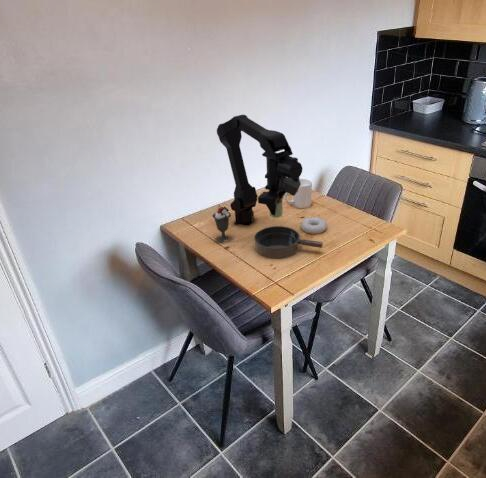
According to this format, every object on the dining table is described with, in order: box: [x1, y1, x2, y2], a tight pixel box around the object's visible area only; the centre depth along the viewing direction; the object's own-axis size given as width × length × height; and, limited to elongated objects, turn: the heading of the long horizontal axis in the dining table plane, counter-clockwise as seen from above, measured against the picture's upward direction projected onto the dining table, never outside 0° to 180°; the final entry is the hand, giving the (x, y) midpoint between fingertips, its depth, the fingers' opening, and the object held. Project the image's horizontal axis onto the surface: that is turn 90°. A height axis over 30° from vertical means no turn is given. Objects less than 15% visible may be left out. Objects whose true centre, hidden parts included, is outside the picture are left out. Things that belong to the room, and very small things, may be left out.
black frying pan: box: [253, 225, 301, 260], centre depth 153 cm, size 16×16×4 cm
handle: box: [298, 239, 324, 249], centre depth 149 cm, size 8×2×2 cm, turn 72°
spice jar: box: [269, 196, 284, 219], centre depth 152 cm, size 5×5×7 cm
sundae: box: [211, 204, 232, 244], centre depth 156 cm, size 7×7×15 cm
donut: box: [300, 216, 328, 235], centre depth 165 cm, size 10×4×10 cm
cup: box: [284, 178, 313, 209], centre depth 182 cm, size 8×12×10 cm
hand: (275, 212), depth 154 cm, fingers closed on spice jar, 4 cm apart
